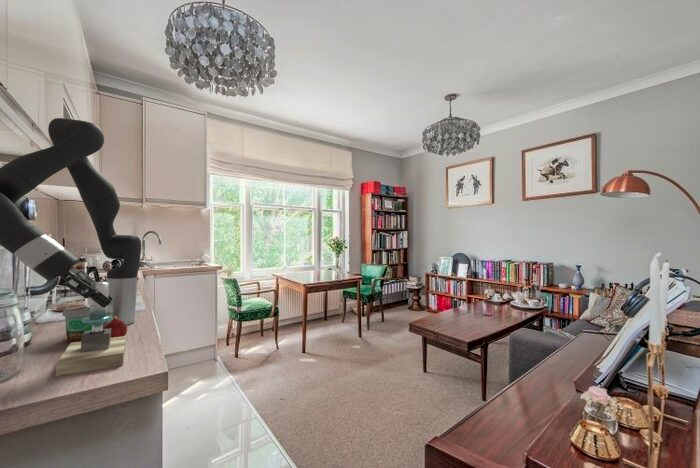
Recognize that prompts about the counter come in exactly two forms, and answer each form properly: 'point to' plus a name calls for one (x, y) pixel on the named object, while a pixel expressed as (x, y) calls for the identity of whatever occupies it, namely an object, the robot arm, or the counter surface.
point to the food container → (78, 323)
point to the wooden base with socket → (92, 353)
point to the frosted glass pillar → (98, 310)
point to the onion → (117, 328)
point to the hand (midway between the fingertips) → (108, 303)
